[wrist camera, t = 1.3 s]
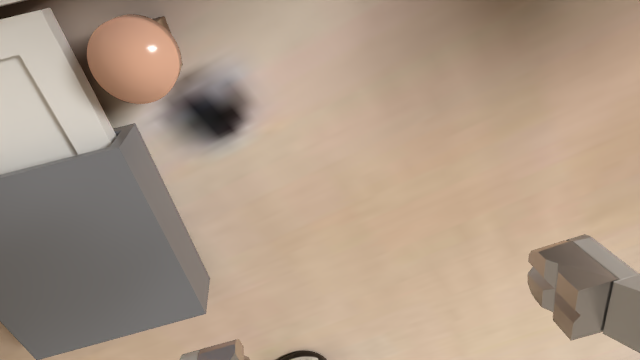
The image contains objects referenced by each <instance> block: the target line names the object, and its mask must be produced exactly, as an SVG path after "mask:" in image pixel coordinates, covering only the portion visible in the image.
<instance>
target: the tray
mask: <svg viewBox="0 0 640 360" xmlns="http://www.w3.org/2000/svg"><path fill="white" fill-rule="evenodd" d="M22 1H27V0H0V7H1V6H6V5H10V4H14V3H18V2H22ZM116 137H117V136H116V134H115V132H114V130H113V128H112V126H111V124H110V122H109V120H108V118H107V116H106V114H105V113H104V111H103V109H102V107H101V105H100V103H99V101H98V99H97V97H96V95H95V93H94V91H93V89H92V87H91V85H90V84H89V82H88V80H87V78H86V76H85V74H84V72H83V70H82V68H81V66H80V64H79V62H78V60H77V58H76V57H75V55H74V53H73V51H72V49H71V47H70V45H69V43H68V41H67V39H66V37H65V35H64V33H63V31H62V30H61V28H60V26H59V24H58V22H57V20H56V18H55V16H54V14H53V12H52V10H51V8H46V9H41V10H37V11H33V12H29V13H25V14H21V15H16V16H12V17H8V18H4V19H0V175H1V174H5V173H9V172H13V171H16V170H20V169H24V168H28V167H32V166H36V165H40V164H44V163H48V162H52V161H56V160H60V159H63V158H67V157H71V156H75V155H79V154H83V153H87V152H91V151H95V150H99V149H103V148H107V147H110V145H111V144H112V143H113V141H114V140H115V139H116Z"/></svg>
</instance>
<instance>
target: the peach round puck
mask: <svg viewBox="0 0 640 360" xmlns="http://www.w3.org/2000/svg"><path fill="white" fill-rule="evenodd" d="M87 61H88V65H89V68H90V70H91V73H92V75H93V76H94V78H95V79H96V81H97V82H98V83H99V85H100V86H101V87H102V88H103V89H104V90H106V91H107V92H108V93H110V94H111V95H112V96H114V97H116V98H118V99H120V100H123V101H126V102H129V103H136V104H145V103H151V102H154V101H157V100H159V99H161V98H162V97H164V96H165V95H166V94H167V93H168V92H169V91H170V90H171V89H172V87H173V85H174V84H175V82H176V80H177V78H178V76H179V74H180V70H181V54H180V50H179V47H178V45H177V43H176V41H175V39H174V38H173V36H172V35H171V34H170V32H169V31H168V30H167V29H166V28H165V27H163V26H162V25H161V24H159V23H158V22H156V21H155V20H153V19H151V18H148V17H145V16H141V15H135V14H127V15H121V16H118V17H116V18H113V19H111V20H109V21H107V22H105V23H103V24H102V25H100V26H99V27H98V28H97V29H96V30H95V31H94V32H93V34H92V35H91V37H90V39H89V42H88V46H87Z"/></svg>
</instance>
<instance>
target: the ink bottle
mask: <svg viewBox="0 0 640 360" xmlns="http://www.w3.org/2000/svg"><path fill="white" fill-rule="evenodd" d="M280 360H327V359H326V358H324V357H323V356H322V355H320V354H318V353H315V352H310V351H300V352H295V353H292V354H289V355H287V356H285V357H283V358H282V359H280Z"/></svg>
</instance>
